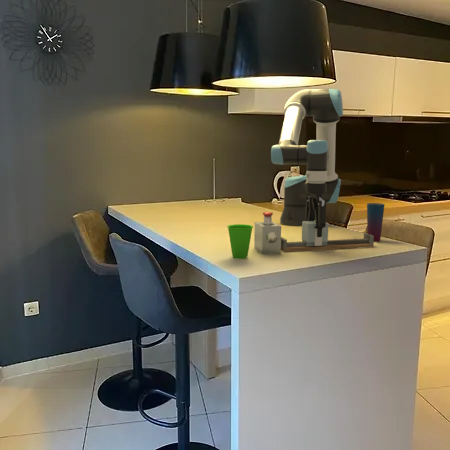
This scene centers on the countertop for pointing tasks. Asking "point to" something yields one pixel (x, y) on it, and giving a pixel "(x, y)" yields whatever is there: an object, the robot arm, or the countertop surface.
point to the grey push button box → (267, 238)
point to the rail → (306, 248)
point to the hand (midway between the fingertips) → (314, 243)
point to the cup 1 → (240, 239)
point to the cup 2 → (375, 219)
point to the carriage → (313, 233)
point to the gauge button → (267, 218)
